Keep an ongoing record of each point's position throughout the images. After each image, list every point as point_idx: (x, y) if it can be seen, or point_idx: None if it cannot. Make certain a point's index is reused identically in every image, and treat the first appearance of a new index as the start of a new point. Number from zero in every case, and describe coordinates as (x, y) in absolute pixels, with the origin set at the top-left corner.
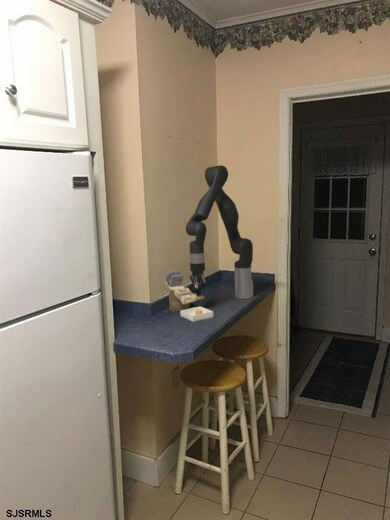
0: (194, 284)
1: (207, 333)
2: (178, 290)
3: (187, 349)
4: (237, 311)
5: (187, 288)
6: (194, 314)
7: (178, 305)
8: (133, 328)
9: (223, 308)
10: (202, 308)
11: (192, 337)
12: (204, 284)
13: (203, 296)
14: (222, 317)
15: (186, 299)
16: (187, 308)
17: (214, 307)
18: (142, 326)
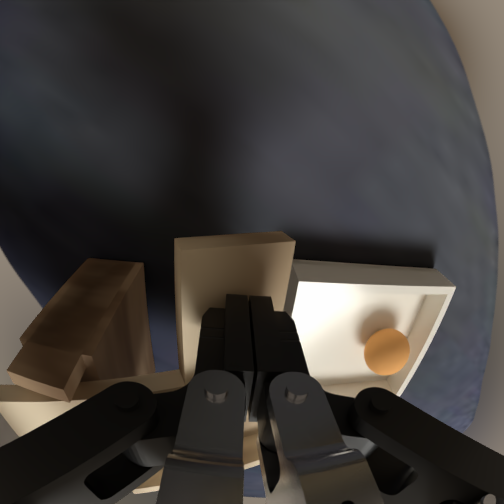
0: (161, 462)
1: (478, 373)
2: None
3: (464, 427)
4: (461, 70)
5: None
6: (328, 339)
7: (142, 366)
8: (254, 485)
9: (350, 57)
10: (344, 289)
11: (451, 410)
12: (449, 432)
13: (281, 251)
14: (467, 227)
15: (246, 420)
16: (144, 281)
17: (268, 82)
18: (258, 475)
